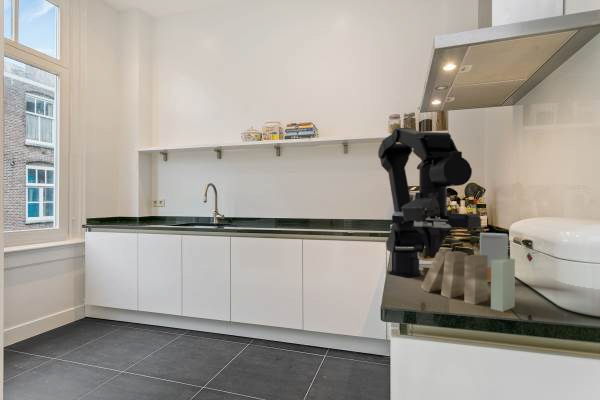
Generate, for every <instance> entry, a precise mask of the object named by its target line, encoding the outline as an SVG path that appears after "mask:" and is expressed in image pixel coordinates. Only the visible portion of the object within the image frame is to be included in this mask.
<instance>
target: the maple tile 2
mask: <svg viewBox="0 0 600 400" xmlns="http://www.w3.org/2000/svg"><path fill="white" fill-rule="evenodd" d="M465 256H468V252H465V251H459V250H457V251H456V250H455V251H451V252H448V253H445V262H444V272H443V281H442V289H441V292H440V295H441V296H443V297H445V298H448V299H452V298H456V297H460V296H463V295H464V291H465Z"/></svg>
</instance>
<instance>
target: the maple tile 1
mask: <svg viewBox="0 0 600 400" xmlns="http://www.w3.org/2000/svg"><path fill="white" fill-rule="evenodd" d="M448 252H452V251H451V250H446V251H438V252H437V254H436V256H435V258H433V260H432V263H431V264H430V266H429V269H428V271H427V272H426V275H425V277H424V279H423V282H422V284H421V286H420V288H422V289H423V290H424V291H426V293H431V292H436V291H439V290H442V281H443V272H444V262H445V253H448Z"/></svg>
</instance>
